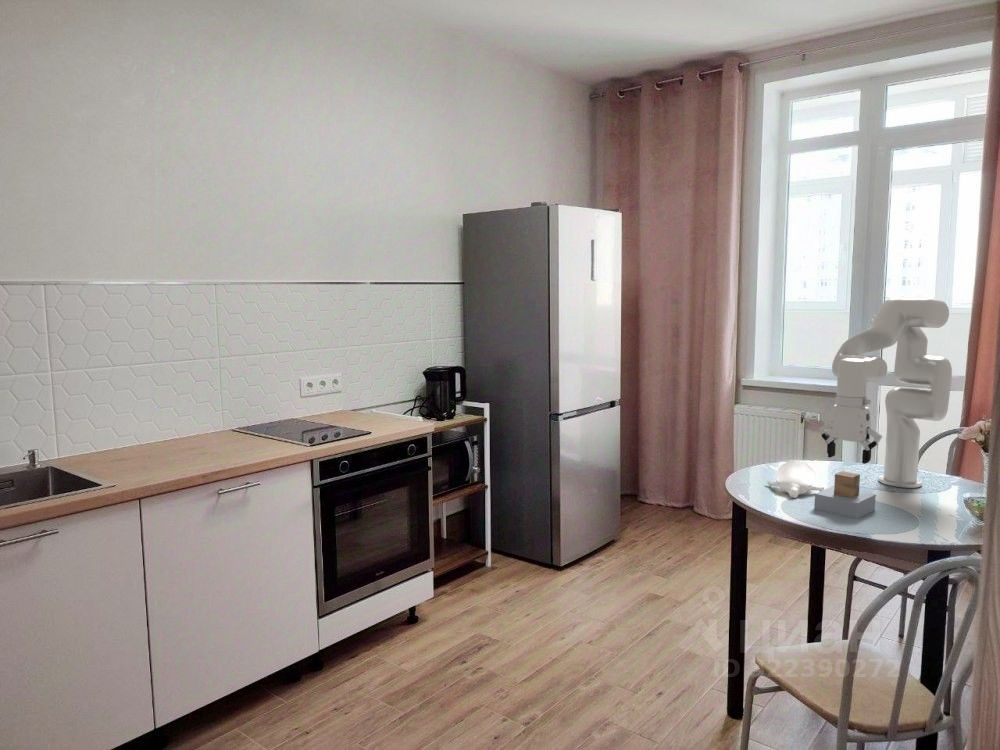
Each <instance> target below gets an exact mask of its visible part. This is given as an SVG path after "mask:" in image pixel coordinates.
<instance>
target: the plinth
mask: <svg viewBox="0 0 1000 750" xmlns="http://www.w3.org/2000/svg"><path fill="white" fill-rule="evenodd" d="M813 505H814V506H813V508H814V510H817V511H822V512H826V513H831V514H834V515H838V516H839V515H840V516H842V517H846V518H852V519H855V520H857V519H860V518H862V517H863V516H866V515H868V514H869V513H871V512H873V511H875V510H876V494H875V493H874V494H873V493H869V492H864V491H861V490H859V495H857V496H855V497H853V498H850V497H845V496H840V495H836V494H834V485H832V486H829V487H828V488H824V489H823V491H817V492H816V493H814V504H813Z"/></svg>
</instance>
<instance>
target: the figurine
mask: <svg viewBox="0 0 1000 750" xmlns="http://www.w3.org/2000/svg"><path fill="white" fill-rule="evenodd" d="M776 477H777V479H778V480H776V481H774V480H773V481H770V480H767V482H766V483H767V485H768V486H769V487H772V486H773V487H779V488H780V489H781V490H782V491H783V492H785V493H787V494H788V495H789V497H790V498H794V499H795V498H798V497H799V495H804V494H806V493H808V492H810V491H817V492H820V491H823V490H825V486H821V487H819V486H817V485H812V483H813V482H814V481H815V479H816V472H815V470H814V469H813V467H812V466H810V465H809V464H808V463H807V461H800V460H796V459H789V460H788V461H787V462H785V463H782V464H781V466H779V468H778V469H777V472H776Z"/></svg>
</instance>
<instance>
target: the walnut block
mask: <svg viewBox="0 0 1000 750" xmlns="http://www.w3.org/2000/svg"><path fill="white" fill-rule="evenodd" d="M860 480H861V474H860V473H855V472H850V471H844V470H841V471H838V472H836V473H835V474H834V485H833V486H834V494H836V495H840V496H845V497H850V498H853V497H855V496H857V495H859V491H860V482H861V481H860Z"/></svg>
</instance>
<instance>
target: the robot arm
mask: <svg viewBox="0 0 1000 750" xmlns="http://www.w3.org/2000/svg"><path fill="white" fill-rule="evenodd" d="M949 318H950V309H949V306H948V304H947V303H946V302H945V301H944V300H940V299H933V298H929V297H927V298H926V297H892V298H888V299H886V300H885V301H884V302H883V303H882V304H881V305H880V308H879V309H878V311H877V313H876V315H875V317H874V319H873V320H872V322H871V323H870V326H869V327H868V328H866V329H865V330H863V331H861V332H858V333H856V334H855V335H853V336H852V337H849V338H848V339H847V340H846V341H845V342H844V343H842V345H840V348H839V349H838V350H837V352H836V354H835V355H834V359H833V361H832V365H831V370H832V374H833V375H834V376H835V377H836V378H837V379H836V380H837V382H836V400H835V401H836V402H835V403H836V404H834V405H833V408H832V413H831V417H830V422H829V423H827V424H825V425H823V426H820V427H818V430H819V433H820V435H821V438H823V440H824V441H825V443H826V444H827V445H826V454H827V457H828V458H833V457H835V456H836V442H835V441H836V440H840V441H846V442H853V443H858V444H860V445H861V446H862V447H863V449H862V454H861V455H862V458H861V464H864V465H866V464H868V463H869V462H870V461H871V460H872V449H874V448H875V447H876V446H878V445H879V443H880V442H881V440H882V438H883V436H882V434H880V433H878V432H877V431H875V430H873V429H872V424H871V422H872V420H871V413H870V408H869V407H868V406H869V405H871V402H872V401H871V399H869V398H867V397H868V396H867V386H868V385H867V383H877V382H879V381H881V380H882V379H884V378H885V376H886V375H887V373H888V364H887V362H886V360H885V359H883V358H882V357H881V356H880V357H879V356H875V355H865V354H866V353H867V354H868V353H871V352H876V351H879V350H883V349H888V348H890V347H892V346H894V345H895V344H896V352H895V360H894V370H893V373H894V379H895V380H896V381H897V382H898V383H902V384H908V385H914V386H915V385H916V386H917V385H918V386H929V387H930V389H919V388H912V387H911V388H910V387H894V388H892V389H890V390H889V391H888V392H887V393H886V394H885V400H884V401H885V402H884V405H885V410H886V413H885V414H886V436H885V451H884V467H883V468H884V469H883V474H881V475H879V476H877V477H878V478H877V481H878V482H879V483H880V484H884V485H886V486H890V487H897V488H904V489H907V488H908V489H911V488H912V489H913V488H914V489H915V488H919V487H922V486H923V481H922V480H921V479H919V478H918V472H919V469H918V468H919V466H918V465H919V457H920V456H919V455H920V453H919V451H920V440H921V430H920V427H919V425H918V424H917V422H916V421H915V420H916V419H917V420H924V421H931V422H933V421H934V422H939V421H942V420H944V419H945V418H946V416H947V414H948V410H949V404H950V397H951V396H950V395H951V385H952V379H953V376H952V375H953V369H952V364H951V362H950V360H949V359H948V358H946V357H943V356H937V355H936V356H935V355H928V354H927V352H928V343H929V341H928V338H927V336H926V334H925V332H924V331H923V329H922V328H928V329H931V328H932V329H939V328H942V327H944V326H945V325H946V324H947V322H948V320H949ZM828 429H829V433H827V430H828ZM871 438H873V441H872V442H871V441H870V440H871Z"/></svg>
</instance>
